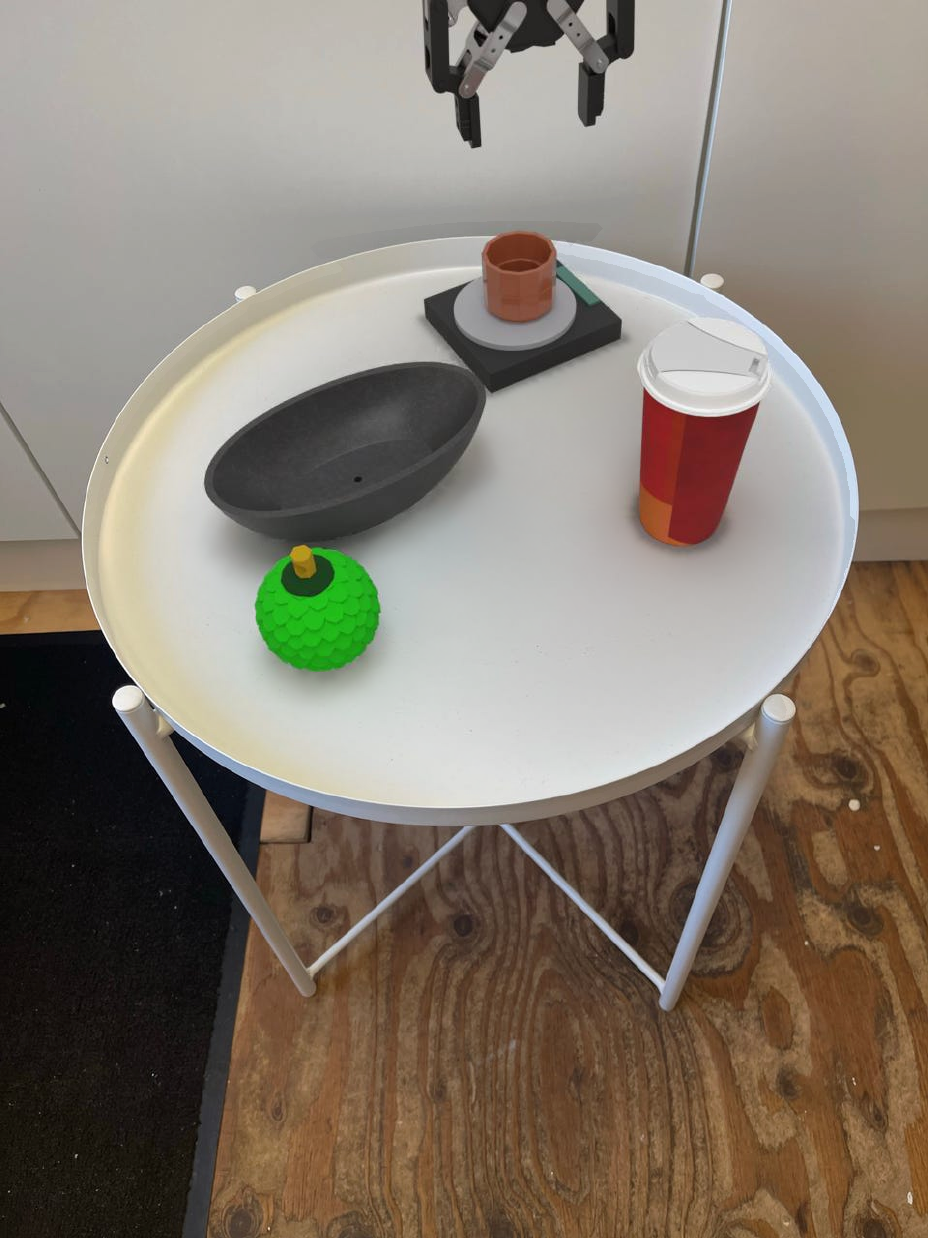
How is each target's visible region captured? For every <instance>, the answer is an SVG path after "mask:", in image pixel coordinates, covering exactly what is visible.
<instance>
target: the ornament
mask: <svg viewBox="0 0 928 1238" xmlns="http://www.w3.org/2000/svg"><path fill="white" fill-rule="evenodd" d="M256 595H257V597H256V599H255V602H254V608H255V611H256V612H255V622H256V625H257V626H258V631H259V633H260V636H261V638H262V640H263V642H265V644H266V646H267V648H268V650H269V651H270V652H271V653H273V654H275V655H276V656H277V658H279V659H280V661H281V662H283V663H285V664H289V665H290V666H292V668H295V669H298V670H303V669H305V670H308V671H309V672H313V673H314V672H315V673H318V672H329V671H330V672H331V671H332V670H338V669H342V668H343V667H345V666H346V665H347V664H350V663H353V661H355V659H356V658H358V657H360V656H361V655H362V654H364V652H365V651H366V649H367V647H368V645H370V644H371V643H372V642H373V641H374V638H375V635H376V631H377V629H378V628H379V625H380V615H379V614H380V613H382V611H381V603H380V601H379V596H378V595H379V591H378V588H377V586H376V585H375V583H374V581H373V579H372V578H371V575H370V573H369V572H368V571H366V568H365V567H364V566H363V565H362V564H360V563H359V562H357V560H356V559H354V558H352V557H350V556H348V555H346V554H344V553H342V552H341V551H339V550H336V549H328V548H327V549H324V548H323V547H312V548H310V547H308V546H307V545H306V544H301V545H298V546H294V547H293V548H292V549H291V552H290V554H289V555H287V556H284V557H283V558H280V559H279V560H278V561H277V562H276V563H275V564H274V566H273V567H272V568H271V570H269V571H268V572H267V573H266V574H265V575H264V576H263V580H262V582H261V584H260V586H259V587H258V590H257V592H256Z"/></svg>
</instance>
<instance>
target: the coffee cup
mask: <svg viewBox="0 0 928 1238" xmlns="http://www.w3.org/2000/svg"><path fill="white" fill-rule="evenodd" d="M636 365H637V366H636V371H637V373H638V377H639V378H640V382H641V384H642V386H643V389H642V390H643V391H642V411H641V412H642V415H641V435H640V456H639V457H640V458H639V459H640V460H639V485H638V486H639V487H638V515H639V521H640V523H641V525H642V528H643V529H644V531H646V533H647V534H649V535H650V536H651V537H652V538H654V539H656V540H658V541H659V542H661V543H664V544H667V545H671V546H679V547H686V546H687V547H688V546H694V545H697V544H700V543H703V542H704V541H706V540H708V539H710V538H711V537H712V536H713V535H714V534H715V532H717V529H718V528H719V526H720V523H721V520H722V518H723V515H724V512H725V510H726V507H727V505H728V504H727V503H728V501H729V498H730V495H731V492H732V489H733V486H734V482H735V480H736V476H737V474H738V470H739V467H740V465H741V461H742V458H743V455H744V452H745V449H746V446H747V444H748V440H749V437H750V435H751V432H752V428H753V426H754V423H755V420H756V418H757V414H758V410H759V408H760V405H761V401H762V400H763V399H764V398H765V397H766V396H767V394H768V392H769V390H770V389H771V386H772V382H773V369H772V366H771V363H770V361H769V353H768V351H767V348H766V346H765V344H764V343H763V341H762V339H761V338H760V337H759V336H758V335H757V334H756V333H754V332H753V331H752V330H750V329H749V328H748V327H746V326H743V325H742V324H739V323H737V322H734V321H731V320H727V319H724V318H719V317H693V318H687V319H684V320H682V321H678V322H676V323H674V324H672V325H669V326H667V327H666V328H665V329H662V330H661V331H660V333H659V334H657V335H656V336H655V337H653V338H652V339H651V340H650V341H649V343H647V346H646V347H645V348H644V349H643V351H642V352H641V353H640V355H639V358H638V360H637V364H636Z"/></svg>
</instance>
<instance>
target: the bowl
mask: <svg viewBox="0 0 928 1238" xmlns="http://www.w3.org/2000/svg"><path fill="white" fill-rule="evenodd" d="M486 391H487V390H486V387H485V385H484V384H483V383H482V382H481V381H480V379H479V378H478V377H477V376H476V375H475V374H474V373H473V372H472V371H471V370H468V369H467V368H465V367H462V366H459V365H456V364H451V363H447V362H440V361H409V362H408V361H407V362H400V363H393V364H387V365H382V366H378V367H373V368H368V369H366V370H361V371H358V372H354V373H351V374H348V375H345V376H341V377H338V378H335V379H334V380H330V381H327V382H324V383H322V384H319V385H317V386H315V387H312V388H309V389H307V390H305V391H303V392H300V393H299V394H297V395H294V396H293V397H290V398H288V399H287V400H284V401H282V402H280V403H278V404H277V405H275V406H273V407H271V408H269V409H268V410H266V411H264V412H263V413H261V414H259V415H258V416H257V417H255V418H254V419H252V420H250V421H249V422H248V423H246V424H245V425H244V426H242V427H241V428H239V430H237V431H236V432H235V433H233V434H232V435H231V436H230V437H229V438H228V439H227V440H226V441H225V442H224V443H223V444H222V445H221V446H220V447H219V448H218V450H217V451H216V452H215V453H214V455H213V457H212V458H211V459H210V462H209V463H208V464H207V467H206V470H205V473H204V478H203V487H204V491H205V494H206V496H207V498H208V499H209V500H210V502H211V503H212V504H213V505H214V506H215V507H217V509H218V510H219V511H221V512H222V513H223V514H224V515H225V516H226V517H228V518H229V519H231V520H232V521H233V522H235V523H236V524H239V525H241V526H242V527H244V528H245V529H247V530H250V531H252V532H254V533H256V534H259V535H262V536H265V537H268V538H272V539H275V540H276V539H277V540H282V541H289V542H297V543H298V542H299V543H315V542H324V541H330V540H336V539H340V538H344V537H348V536H352V535H354V534H357V533H360V532H364V531H365V530H369V529H371V528H373V527H376V526H378V525H380V524H382V523H384V522H387V521H388V520H390V519H392V518H394V517H396V516H397V515H400V514H401V513H403V512H405V511H406V510H408V509H409V508H411V507H412V506H414V505H415V504H417V503H418V502H419V501H421V500H422V499H423V498H424V497H425V496H426V495H428V493H430V492H431V491H432V490H433V489H435V488H436V487H437V485H439V484H440V483H441V482H442V480H444V478H445V477H446V476H447V475H448V474H449V473H450V472H451V471H452V469H453V468H454V467H455V466H456V464H457V463H458V462H459V460H460V459H461V458H462V456H463V455H464V453H465V452H466V450H467V448H468V446H469V445H470V443H471V442H472V440H473V438H474V437H475V436H474V435H475V433H476V432H477V429H478V427H479V425H480V422H481V419H482V417H483V415H484V414H483V413H484V411H485V408H486V404H487V392H486Z"/></svg>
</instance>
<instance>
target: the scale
mask: <svg viewBox="0 0 928 1238" xmlns="http://www.w3.org/2000/svg"><path fill="white" fill-rule="evenodd" d="M423 305H424V315H425V319H426V320H427V321H428V322H429V323H430V325H431V326H432V327H433V328H434V329H435V330H436V331H437V333H438V334H439V335H440V336H441V337H442V338H443V339H444V341H445V342H446V343H447V344H448V346H450V347H451V349H452V350H453V351H454V352H455V353H456V355H458V357H459V358H460V359H461V361H463V363H464V364H465V365H466V366H467V368H469V369H470V371H471V372H472V373H473V374H475V375H476V376H477V377H478V378H479V379H480V381H481V382H482V383H483V385H484V387H485V389H487V390H488V392H490V393H491V394H493V393H495V392H498V391H500V390H502V389H505V388H507V387H509V386H512V385H513V384H517V383H519V382H521V381H523V380H525V379H528V378H530V377H532V376H533V377H534V376H535V375H538V374H540V373H542V372H545V371H547V370H550V369H552V368H554V367H557V366H559V365H561V364H563V363H566V362H568V361H571V360H573V359H575V358H578V357H580V356H583V355H585V354H588V353H590V352H592V351H594V350H596V349H599V348H601V347H603V346H607V345H609V344H611V343H613V342H616V341H618V340H620V339H621V337H622V325H623V319H622V318H621V317H620V316H619V315H618V314H617V313H616V312H615V311H613V310H612V309H611V307H609V306H608V305H607V304H606V303H605V302H604V301H603V300H601V298H600V297H599V296H597V294H596V293H594V292H593V291H592V290H591V289H590V288H589V287H588V286H587V285H586V284H585V283H584V282H583V281H582V280H581V279H579V278H578V277H577V276H576V275H575V274H574V273H573V272H572V271H571V270H570V269H569V268H568V267H566V266H565V265H564V264H563V263H562V262H561V261H560V260H559V259H558V258H556V297H555V300H554V303H553V305H552V308H551V309H550V310H548V311H547V312H545V313H544V314H543V315H542V316H540V317H539V318H537V319H534V320H531V321H527V322H510V321H506V320H503V319H501V318H499V317H497V316H496V315H495V314H493V313H492V312H490V311H489V310H488V308H487V306H486V303H485V301H484V293H483V275H482V276H479V277H477V278H474V279H472V280H469V281H467V282H464V283H462V284H459V285H457V286H454V287H451V288H448V289H446V290H444V291H442V292H439V293H436V294H434V295H431V296H428V297H425V298H423Z"/></svg>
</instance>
